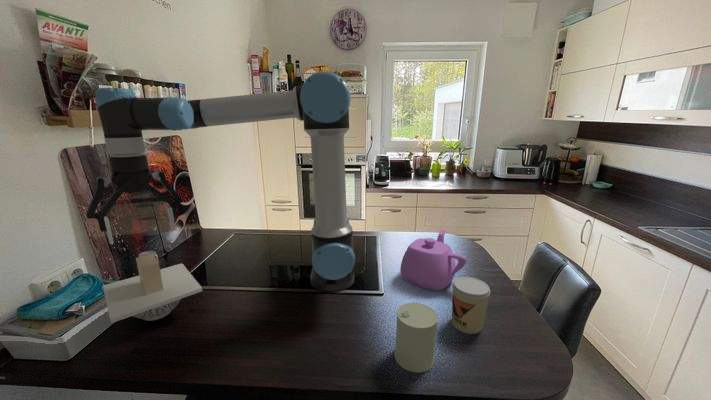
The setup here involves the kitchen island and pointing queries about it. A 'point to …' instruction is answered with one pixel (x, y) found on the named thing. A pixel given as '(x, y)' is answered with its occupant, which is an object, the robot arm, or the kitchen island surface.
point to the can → (415, 337)
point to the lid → (148, 288)
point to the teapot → (430, 263)
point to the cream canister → (469, 304)
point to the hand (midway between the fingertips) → (144, 235)
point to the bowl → (157, 311)
